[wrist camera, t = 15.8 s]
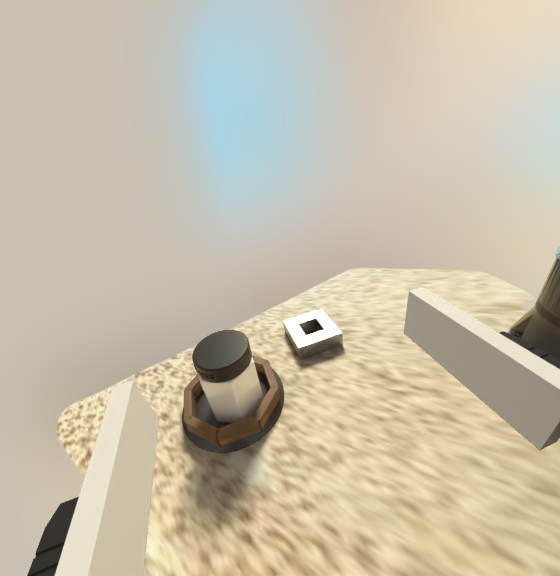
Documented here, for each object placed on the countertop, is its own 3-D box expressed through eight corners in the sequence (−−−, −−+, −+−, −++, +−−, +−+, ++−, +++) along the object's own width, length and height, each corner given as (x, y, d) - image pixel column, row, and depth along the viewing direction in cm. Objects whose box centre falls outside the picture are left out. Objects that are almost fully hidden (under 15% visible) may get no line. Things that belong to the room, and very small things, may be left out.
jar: (211, 389, 46) (189, 338, 40) (255, 373, 48) (241, 321, 42) (217, 435, 39) (193, 381, 33) (269, 414, 40) (255, 359, 34)
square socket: (322, 319, 59) (321, 308, 58) (342, 344, 52) (342, 332, 50) (285, 331, 57) (283, 320, 56) (300, 359, 50) (298, 347, 48)
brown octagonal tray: (268, 350, 53) (265, 339, 52) (299, 425, 39) (297, 413, 37) (183, 379, 50) (178, 368, 48) (182, 472, 35) (175, 461, 34)
